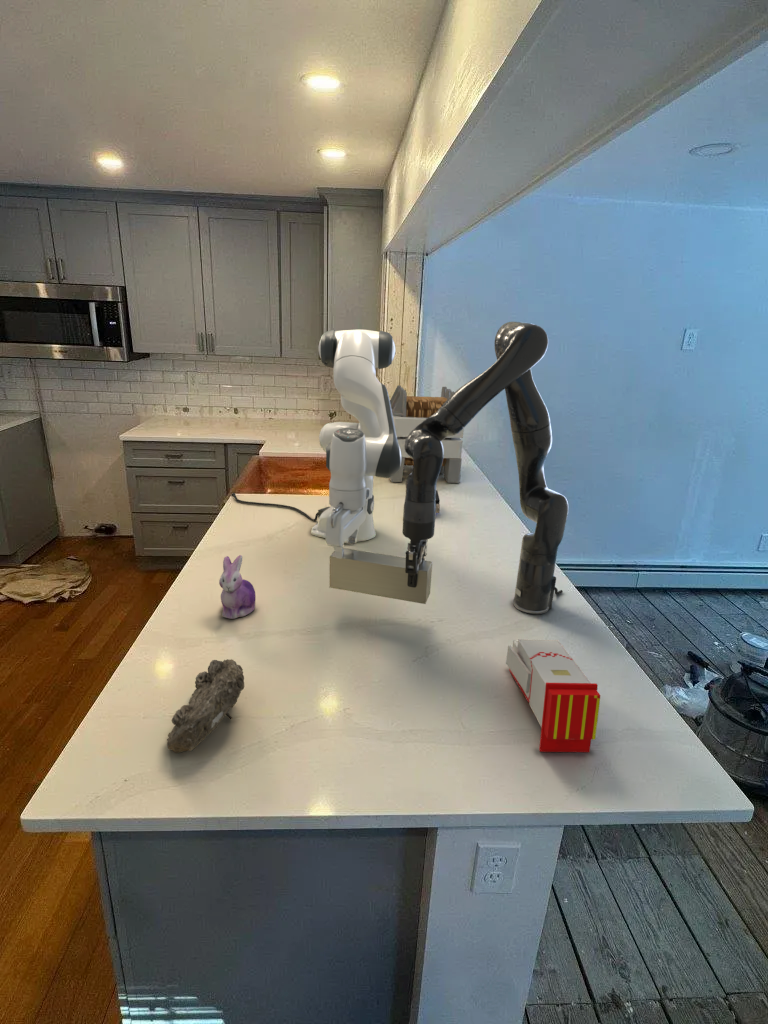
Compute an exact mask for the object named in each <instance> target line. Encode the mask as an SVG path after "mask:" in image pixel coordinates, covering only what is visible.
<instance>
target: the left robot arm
mask: <svg viewBox="0 0 768 1024" xmlns="http://www.w3.org/2000/svg"><path fill="white" fill-rule="evenodd" d="M317 348H318V355H319V358H320V361H321V363H322V364H323V365H324V367H327V368H332V370H333V371H332V372H333V375H332V377H333V385H334V387H335V389H336V391H337V392H338V394H339V395H340V405H341V407H342V409H343V410H344V411H345V413H347V414H348V415H351V416H352V417H354V418H355V419H356V420H357V421H358V422H351V421H350V422H348V421H335V422H329V423H325V424H324V425H323V426H322V427H321V429H320V431H319V435H318V442H319V445H320V448H321V449H322V450H323V452H324V453H325V467H326V469H327V470H328V471H329V472H330V480H329V483H328V504H329V506H326V507H323V508H320V509H317V512H316V513H315V516H314V518H312V517H311V516H309V514H307V513H306V512H305V511H303V510H301V509H299V508H297V507H295V506H290V505H286V504H278V503H269V502H257V501H248V500H247V501H246V500H241V499H239V498H238V497H237V495H236V493H235V492H232V493H230V496H231V497H233V499H234V500H235V501H236V502H237V503H241V504H246V505H255V506H268V507H269V506H270V507H279V508H286V509H290V510H293V511H296V512H298V513H299V514H301V515H303V516H305V518H307V519H308V520H310V521H312V522H317V523H315V524H314V525H313V526H312V528H311V530H310V533H311V536H315V537H319V538H323V539H324V540H325V544H326V546H329V547H333V549H334V551H335V557H336V558H339V559H341V558H342V557H343V556H344V550H343V548H344V544H349V545H355V544H356V543H357V542H365V541H368V540H372V539H373V538H375V537H376V535H377V532H376V528H375V523H374V513H373V512H374V509H375V496H374V477H376V478H383V479H384V478H385V479H390V477H391V476H393V475H394V474H395V473H397V472H398V471H399V470H400V466H401V461H402V455H401V450H400V447H399V444H398V440H397V436H396V431H395V426H394V420H393V414H392V409H391V404H390V400H391V398H390V394H389V392H388V389H387V386H386V385H385V384H383V383H382V382H380V380H379V379H378V377H377V375H376V373H377V371H376V369H378V370H381V369H382V370H383V369H386V368H388V367H389V366H391V365H392V364H393V361H394V358H395V356H396V343H395V340H394V339H393V336H392V334H391V333H390V332H387V331H384V330H379V331H376V330H372V329H371V330H370V329H363V328H362V329H361V328H359V329H343V330H335V329H332V330H327V331H324V333H322V335H321V337H320V340H319V342H318V347H317ZM317 520H318V521H317Z"/></svg>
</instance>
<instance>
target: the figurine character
mask: <svg viewBox="0 0 768 1024" xmlns="http://www.w3.org/2000/svg"><path fill="white" fill-rule="evenodd" d="M440 501H441V499H440V496H439V491H438V489H436V514H440V511H441V510H440V509H441V504H440ZM435 517H436V515H435Z"/></svg>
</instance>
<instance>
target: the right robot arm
mask: <svg viewBox="0 0 768 1024" xmlns="http://www.w3.org/2000/svg"><path fill="white" fill-rule="evenodd" d="M493 343H494V352H495V357H496V360H495V362H494V363H492V365H491V366H489V367H487V369H485V370H484V371H483V372H482V373H480V374H478V375H477V376H475V377H474V378H472V379H471V380H469V381H467V382H466V383H465V384H463V385H462V386H461V387H459V388H458V389H456V390H455V391H454V392H455V393H454V394H453V395H452V396H451V397H450V398H449V399H448V400H447V401H446V402H445V403H444V404H443V405H442V406H441V407H440V408H439V409H438V411H437V412H436V413H434V414H433V415H431V416H430V417H428V418H427V419H426V420H424V421H423V422H422V423H420V424H419V425H418V426H416V427H415V428H414V429H413V430H412V431H411V432H410V433H409V435H408V436H407V438H406V440H405V445H404V447H405V451H406V453H407V455H408V456H409V457H411V458H412V459H413V460H414V464H413V466H412V471H411V472H410V473H409V474H408V475H407V478H406V480H405V481H406V482H405V495H404V496H405V497H404V503H403V515H402V530H401V531H402V532H401V533H402V535H403V536H404V537H405V538H407V539H408V540H410V541H409V542H408V543H407V546H406V549H407V550H406V551H405V558H406V568H405V573H408V582H407V585H408V586H409V587H414V588H415V587H416V586H417V576H418V569H419V564H421V563H422V560H425V559H426V557H427V555H428V553H427V552H428V542H429V541H428V540H430V539H432V538H433V537H434V536H435V529H436V527H435V526H436V516H435V515H436V514H437V513H436V490H437V484H438V483H437V482H438V479H439V476H440V474H441V472H440V470H441V466H442V462H443V456H444V450H443V445H442V442H441V441H442V440H443V439H445V438H446V437H447V436H454V435H457V434H458V433H459V432H460V431H461V430H462V429H463V428H464V429H465V427H467V426H468V424H470V422H471V421H472V420H473V419H474V418H475V417H476V416H477V415H478V414H479V412H481V411H482V410H483V409H484V408H485V407H486V406H487V405H488V404H489V403H490V402H491V401H492V400H493V399H494V398H496V397H497V396H498V395H499V394H500V393H501V392H503V391H505V397H506V404H507V411H508V416H509V422H510V424H509V425H510V431H511V437H512V442H513V447H514V453H515V460H516V467H517V472H518V489H519V504H520V505H519V506H520V509H521V512H522V514H523V515H524V516H525V517H526V518H527V519H529V520H530V521H532V522H534V523H536V525H535V529H534V532H532V531H531V532H528V533H525V534H524V535H523V536H522V538H521V539H522V540H521V546H520V554H519V561H518V569H517V576H516V584H515V589H514V597H513V600H512V601H513V602H512V604H513V607H514V608H515V609H516V610H518V611H520V612H522V613H525V614H529V615H530V614H531V615H542V614H543V615H544V614H545V613H547V612H548V611H549V610H552V608H553V602H554V594H555V595H557V596H558V595H561V594H562V593H563V590H562V589H561V590H559V591H558V588H557V587H556V582H557V577H556V576H555V569H556V563H557V555H558V550H559V546H560V545H561V543H562V540H563V538H564V535H565V530H566V525H567V521H568V516H569V502H568V499H567V497H566V496H565V495H563V494H561V493H559V492H558V491H555V490H553V489H550V488H549V487H548V486H547V481H546V478H545V469H544V468H545V462H546V460H547V458H548V455H549V454H550V451H551V449H552V445H553V432H552V423H551V417H550V414H549V410H548V408H547V405H546V404H545V401H544V400H543V397H542V395H541V394H540V391H539V390H538V387H537V386H536V383H535V381H534V378H533V373H532V368H533V367H535V365H536V364H538V363H539V362H540V361H541V360H542V359H543V358H544V357H545V355H546V352H547V350H548V347H549V336H548V334H547V332H546V330H545V329H544V328H543V327H542V326H540V325H538V324H535V323H530V322H523V321H507V322H505V323H503V324H502V325H501V326H500V327H499V328H498V330H497V332H496V334H495V337H494V342H493ZM417 559H418V560H417ZM425 561H426V560H425ZM411 566H413V567H414V568H410V567H411Z"/></svg>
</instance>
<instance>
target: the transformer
mask: <svg viewBox="0 0 768 1024" xmlns="http://www.w3.org/2000/svg"><path fill="white" fill-rule="evenodd" d="M455 392H456V391H453V390H452V389H451V388H447V386H442V387H441V392H440V393H441V394H440V396H415V395H414V396H413V395H412V396H411V395H407V394H408V393H407V390H406V389H404V388H403V387H402V385H399V384H398V385H397V386H396V388H395V390H394V392H393V394H392V395H391V398H390V404H391V409H392V414H393V420H394V426H395V431H396V436H397V440H398V444H399V447H400V450H401V455H402V461H401V466H400V470H399V471H398V472H397V473H395V474H394V475H393V476H391V477H390V478H389V480H390V482H391V483H402V482H403V475H404V469H405V466H406V467H407V466H411V467H413V464H414V460H413V459H412V458H411V457H409V456H408V455H407V453H406V451H405V447H404V445H405V440H406V438H407V436H408V435H409V433H410V432H411V431H412V430H413V429H414V428H415V427H416V426H418V425H419V424H420V423H422V422H423V421H424V420H426V419H427V418H428V417H430V416H431V415H433V414H434V413H436V412H437V411H438V409H439V408H440V407H441V406H442V405H443V404H444V403H445V402H446V401H447V400H448V399H449V398H450V397H451V396H452V395H453V394H454V393H455ZM464 429H465V427H464V428H463V429H462V430H461V431H460V432H459V433H458V434H457V435H454V436H447V437H446V438H445V439H443V440H442V441H441V442H442V445H443V450H444V456H443V462H442V466H441V470H440V474H441V475H443V478H444V479H445V481H446V482H447V483H449V484H455V483H456V484H459V483H461V472H462V461H463V460H462V453H463V442H464V441H463V440H462V439H463V438H464V431H465V430H464Z"/></svg>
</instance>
